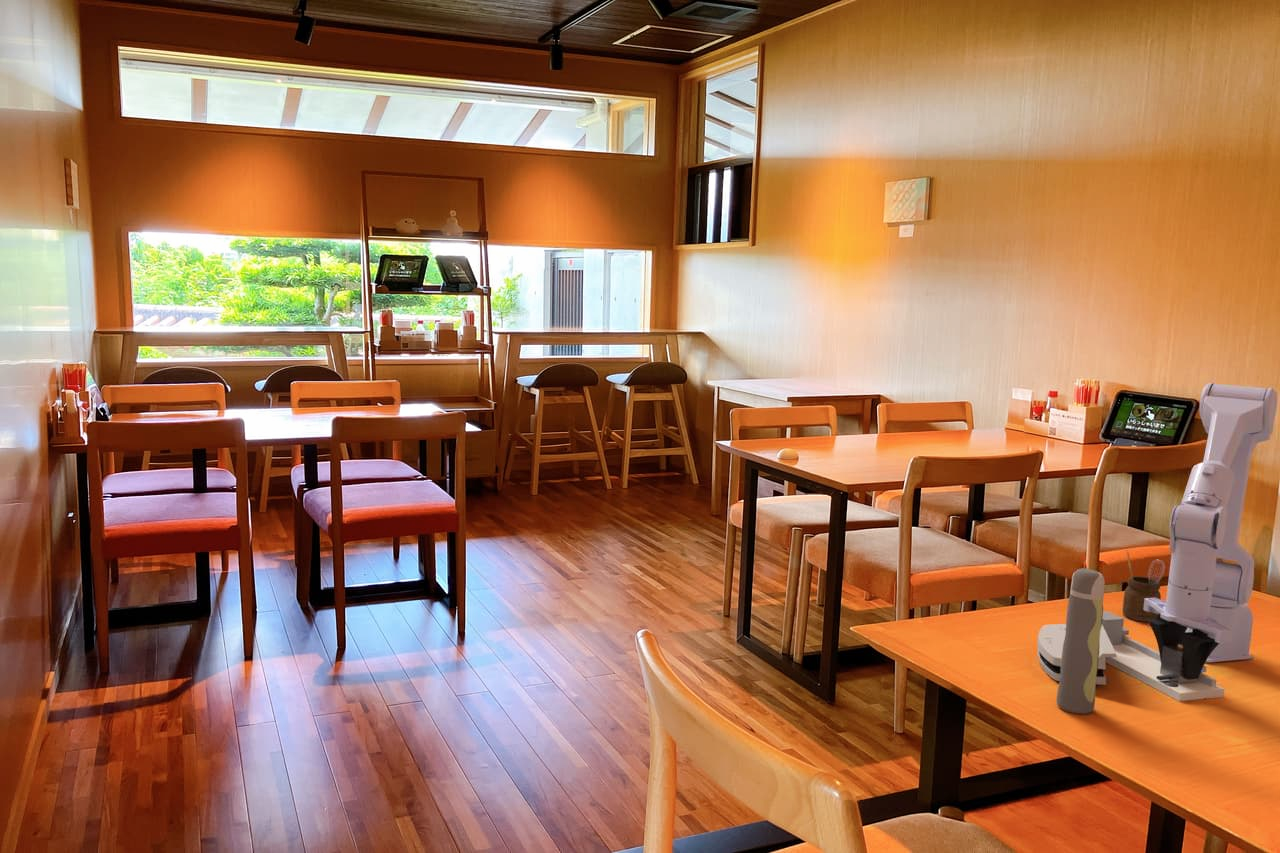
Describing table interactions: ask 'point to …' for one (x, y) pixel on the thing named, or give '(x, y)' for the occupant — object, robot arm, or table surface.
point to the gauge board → (1151, 665)
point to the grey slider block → (1174, 664)
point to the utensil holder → (1140, 595)
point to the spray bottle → (1081, 642)
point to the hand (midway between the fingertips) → (1179, 672)
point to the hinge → (1052, 649)
